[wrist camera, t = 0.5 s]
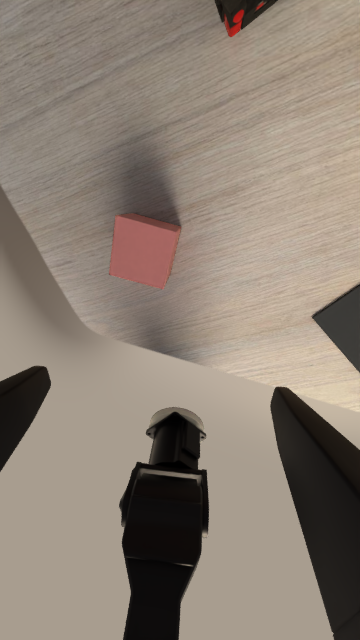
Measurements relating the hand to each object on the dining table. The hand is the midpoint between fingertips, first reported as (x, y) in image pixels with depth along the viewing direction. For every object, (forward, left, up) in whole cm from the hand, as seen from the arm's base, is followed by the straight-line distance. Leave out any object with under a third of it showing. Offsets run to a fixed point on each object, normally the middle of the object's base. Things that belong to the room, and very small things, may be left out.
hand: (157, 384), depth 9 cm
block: (-1, +4, -18) cm, 18 cm away
